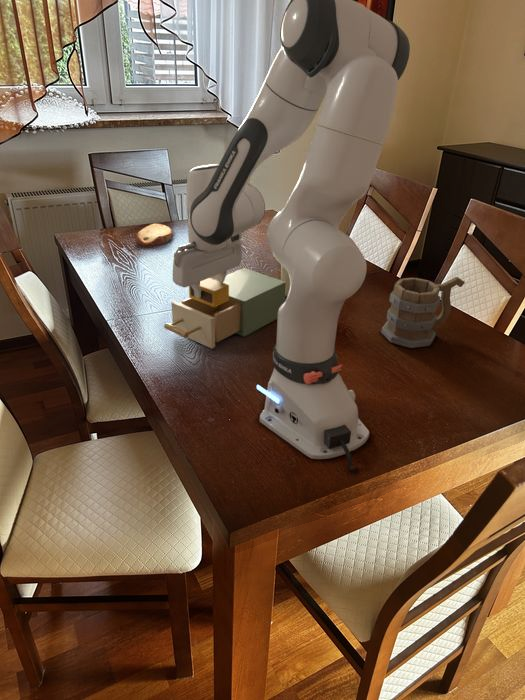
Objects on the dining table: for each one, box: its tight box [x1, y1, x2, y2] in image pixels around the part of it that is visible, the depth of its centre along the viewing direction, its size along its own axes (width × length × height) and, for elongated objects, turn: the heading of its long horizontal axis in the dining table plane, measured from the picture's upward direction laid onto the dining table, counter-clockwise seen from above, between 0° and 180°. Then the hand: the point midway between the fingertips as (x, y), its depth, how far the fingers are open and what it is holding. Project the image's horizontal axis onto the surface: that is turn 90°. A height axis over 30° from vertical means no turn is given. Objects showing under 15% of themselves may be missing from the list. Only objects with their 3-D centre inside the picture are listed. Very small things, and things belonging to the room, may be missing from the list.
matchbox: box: [188, 278, 229, 307], centre depth 128 cm, size 8×6×4 cm, turn 51°
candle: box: [280, 264, 290, 297], centre depth 155 cm, size 6×6×10 cm
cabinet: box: [215, 267, 286, 337], centre depth 140 cm, size 17×15×10 cm
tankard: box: [380, 276, 466, 349], centre depth 133 cm, size 20×13×15 cm, turn 105°
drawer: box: [163, 297, 242, 349], centre depth 130 cm, size 21×14×8 cm, turn 141°
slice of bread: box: [135, 223, 173, 248], centre depth 197 cm, size 18×18×4 cm
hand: (209, 292), depth 128 cm, fingers closed on matchbox, 5 cm apart
